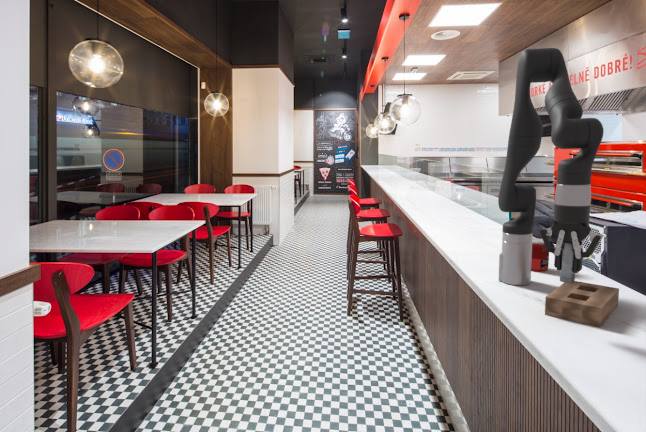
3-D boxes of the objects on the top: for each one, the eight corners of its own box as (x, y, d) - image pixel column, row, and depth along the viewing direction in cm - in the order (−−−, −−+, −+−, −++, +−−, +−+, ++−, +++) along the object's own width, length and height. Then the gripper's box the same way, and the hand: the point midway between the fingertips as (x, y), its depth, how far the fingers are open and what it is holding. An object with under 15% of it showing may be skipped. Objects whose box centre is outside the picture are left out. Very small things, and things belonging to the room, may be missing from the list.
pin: (557, 281, 105) (560, 242, 104) (561, 278, 107) (564, 240, 106) (572, 284, 103) (574, 244, 101) (576, 280, 105) (578, 241, 104)
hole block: (544, 314, 115) (545, 296, 115) (567, 295, 129) (568, 279, 128) (600, 327, 106) (601, 308, 105) (617, 305, 120) (619, 288, 119)
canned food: (545, 273, 152) (546, 243, 151) (521, 269, 158) (523, 240, 156) (550, 268, 158) (552, 239, 156) (528, 265, 163) (529, 237, 162)
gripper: (535, 202, 104) (532, 269, 107) (602, 206, 94) (596, 280, 97) (546, 198, 110) (542, 262, 112) (610, 202, 100) (604, 272, 102)
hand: (567, 270), depth 105 cm, fingers closed on pin, 3 cm apart
